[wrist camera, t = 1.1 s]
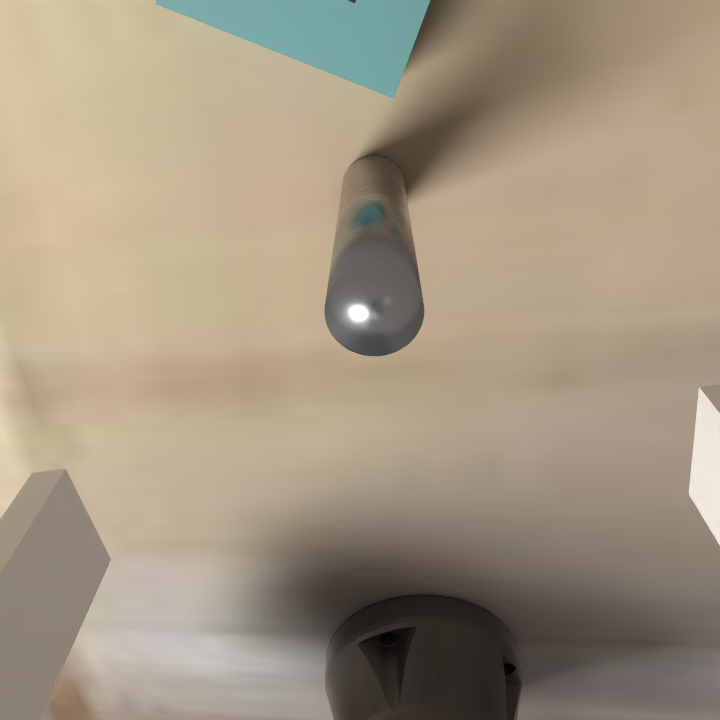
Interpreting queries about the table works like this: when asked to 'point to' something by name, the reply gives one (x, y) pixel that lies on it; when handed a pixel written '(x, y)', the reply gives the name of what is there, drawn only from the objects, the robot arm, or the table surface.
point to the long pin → (374, 263)
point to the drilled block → (323, 32)
